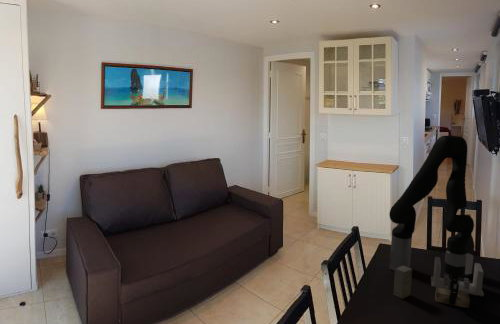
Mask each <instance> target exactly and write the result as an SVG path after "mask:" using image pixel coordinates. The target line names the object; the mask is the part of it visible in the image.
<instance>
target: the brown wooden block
mask: <svg viewBox="0 0 500 324" xmlns="http://www.w3.org/2000/svg"><path fill="white" fill-rule="evenodd" d="M449 293H450V290H448V289H443V288H438V287H435V293H434V295H435V296H434V299H435V300H434V301H435V303H436V302H438V303H442V304H447V305H451V306H456V307H461V308H466V309H469V308H470V302H471V301H470V300H471V299H470V294H468V293H464V292H459V291H458V296H457V297H456V303H455V304H450V303H449V299H450V294H449ZM452 293H455V292H452Z"/></svg>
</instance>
